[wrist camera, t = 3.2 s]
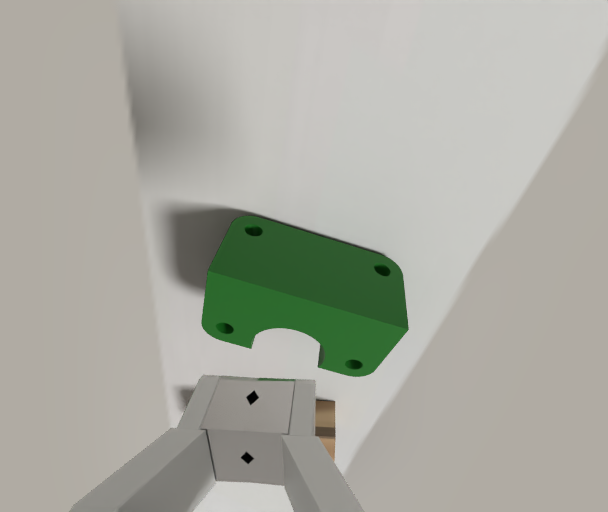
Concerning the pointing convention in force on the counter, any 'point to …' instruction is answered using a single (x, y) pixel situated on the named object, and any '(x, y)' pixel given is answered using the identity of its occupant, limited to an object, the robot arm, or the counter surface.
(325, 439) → the stop rail
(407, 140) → the counter surface
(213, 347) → the counter surface
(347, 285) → the clamp
